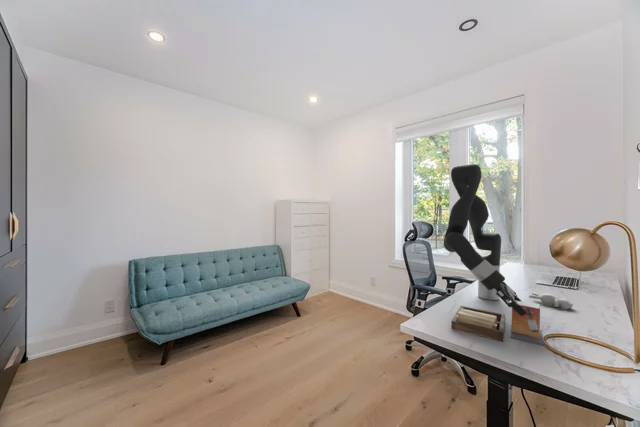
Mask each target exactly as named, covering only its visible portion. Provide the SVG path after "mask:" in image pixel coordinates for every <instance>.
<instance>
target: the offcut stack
mask: <svg viewBox="0 0 640 427" xmlns="http://www.w3.org/2000/svg"><path fill="white" fill-rule="evenodd" d="M456 320H457V321H459V322H464V323H468V324H472V325H477V326H481V327H486V328H490V329H494V330H497V324H495V323H496V322H497V321H496V320H497V316H494V315H489V314H485V313H480V312H475V311H471V310H466V309H461V310H460V311H459V312H458V315H457V316H456Z"/></svg>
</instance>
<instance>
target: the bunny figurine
mask: <svg viewBox="0 0 640 427" xmlns="http://www.w3.org/2000/svg"><path fill="white" fill-rule="evenodd" d="M528 298H529V299H530V298H531V299H537V300H540V302H541V303H542V305H543V306H547V307H555V308H559V309H561V310H569V309H570V310H571V309H572V308H573V306H574V305H573V303H571V301H570V300H568V298H567V299H566V298H562V297H559V296H557V295H555V294H552V293H548V292H545V293H541V294H540V293H537V292H535V291H533V292H532V294H528Z"/></svg>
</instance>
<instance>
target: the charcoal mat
mask: <svg viewBox="0 0 640 427" xmlns="http://www.w3.org/2000/svg"><path fill="white" fill-rule="evenodd" d="M510 338H511V339H515V340H517V341H518V340H519V341H523V342H526V343H532V344H536V345H540V346H545V342H544V337H543V332H542V330H541V329H540V335H539V339H538V338H534V337H531V336H527V335H523V334H519V333H515V332H511V331H510Z"/></svg>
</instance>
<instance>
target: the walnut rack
mask: <svg viewBox="0 0 640 427" xmlns="http://www.w3.org/2000/svg"><path fill="white" fill-rule="evenodd" d="M461 309H466V310H471V311H475V312H480V313H485V314H489V315H494V316H497V320H496V323H495V324H497V330H494V329H490V328H486V327H481V326H477V325H472V324H468V323H464V322H459V321H457V320H456V316H457V315H458V312H459V311H460V310H461ZM450 322H451V323H450V324H451V325H450V326H451V330H453V331H454V330H456V331H459V332H463V333H467V334H471V335H475V336H480V337H482V338H486V339H487V338H488V339H491V340H496V341H499V342H504V335H505V328H506V326H505V325H506V314H505V313H501V312H500V313H499V312H495V311H490V310H485V309H480V308H475V307H470V306H466V305H465V306H464V305H460V306H459V308H458V310H457V311H456V312H455V315H454V316H453V318H452V319H451V321H450Z"/></svg>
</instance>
